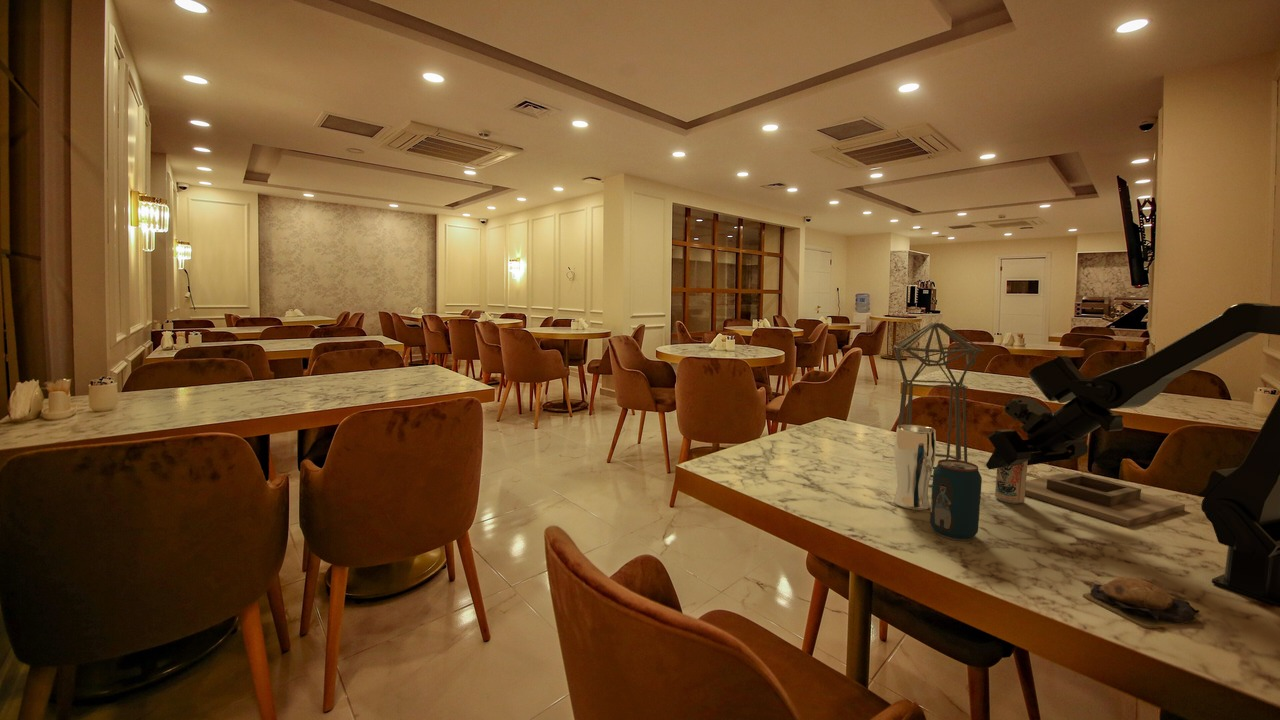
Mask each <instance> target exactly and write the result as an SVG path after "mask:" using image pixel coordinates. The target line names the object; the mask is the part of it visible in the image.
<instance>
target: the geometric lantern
mask: <svg viewBox="0 0 1280 720" xmlns="http://www.w3.org/2000/svg"><path fill="white" fill-rule="evenodd" d="M939 329H940V330H941V331H942V332H943V333H945V335H947V336H948V337H949V338H950V339H951V340H952V341H953V342H954V343H955V344H956V346H955V345H954V346H945V347H944V346H943V342H942V338H941V335H940V332H939ZM929 331H930V332H929ZM928 332H929V336H928V339H927V341H926V344H925V348H923V347H914V346H913V345H914V344H915V343H916V342H917V341H918V340H919V339H921V338H922V337H924V335H926V333H928ZM934 332H935V334H936V339H937V344H938V349H936V348H935V349H933V348H930V346H931V343H932V340H933V336H934ZM892 348H893V352H894V354H895V355H894V356H895V358H896V362H897V363H898V366H899V369H900V373H901V376H902V386H901V395H900V396H901V397H900V406H899V415H898V422H897V423H898V424H897V426H899V425H904V422H905V425H913V398H914V397H913V396H914V395H913V394H914V392H913V391H914V390H913V389H914V387H923V388H925V387H926V388H939V389H940V388H942V389H950V391H949V393H950V394H949V406H948V407H949V408H948V409H949V411H948V425H947V427H948V428H947V442H946V443H947V444H946V445H947V447H946V454H938V453H936V454H935V457H939V458H945V459H952V460H961V461H966V462H968V441H967V440H968V438H967V437H968V436H967V407H966V405H967V404H966V403H967V402H966V401H967V400H966V399H967V397H966V389H968V386H967V385H965V384H964V380H965V376H966V374H967V372H968V370H969V368H970V367H971V366H973V367H974V366H975V364H976V358H977V356H978V354H979V353H980V352H985V349H983V348H982V347H981V346H979V345H977V344H976V343H974V342H972V341H971V340H969V339H968V338H966V337H964V336H963V335H961V334H960V333H958V332H957V331H956V330H953V329H952V328H950V327H949V326H948V325H946V324H944V323H942V322H931V323H929V324H927V325H926V326H924V327H922V328H921V329H919V330H917V331H915V332H914V333H912V334H911V335H909V336H908V337H905V338H904V339H903V340H901V341H899V342H898V343H896V344H894V345H893V346H892ZM901 351H905V352H906V353H908V354H909V355H911V356H912V357H913V358H915V359H916V360H917V361H919V362H921V364H920V365H919V367H918V368H917V369H916V371H915V372H914V374H913V376H912V377H911V379H907V378H908V377H907V376H906V372H905V368H904V365H903V362H902V357H901V355H902V354H901ZM914 351H917V352H923V353H924V354H925V357H922V356H920V355H918V354H917V353H914ZM930 353H939V357H938V360H932V359H930ZM959 353H960V354H959ZM953 354H959V355H957V356H955V357H952V358H950V359H948V360H946V358H948V357H950V356H951V355H953ZM970 354H971V358H970ZM965 356H966V357H965ZM963 357H965V359H966V364H965V366H964V370H963V372H962V374H961V377H960V378H959V381H957V380H956V379H955V376H954V375H953V372H952V371H951V369H950V367H949V366H948V364H949V363H951V362H952V363H953V362H954V361H956V360H959V359H960V358H963ZM942 361H943V362H942ZM942 366H944V367H945V369H946V370H947V372H948V374H949V375H950V377H949V376H948V374H947V373H946V371H945V370H944V368H943V367H942ZM926 367H939V368H940V370H941V371H942V372H943V374H944V375H945V377H946V379H947V380H948V381H947V380H946V381H945V380H920V379H917V377H918V376H919V375H920V374H921V372H923V370H924V369H925V368H926ZM950 378H951V379H952V380H951V379H950ZM914 383H937V384H938V383H939V384H941V383H942V384H950V385H934V384H933V385H931V384H914ZM954 385H955V386H954ZM908 387H909V388H908ZM908 389H909V390H908ZM961 389H962V391H961V393H962V422H963V423H962V424H963V425H962V426H963V427H962V428H963V433H962V434H963V458H964V460H962V441H961V440H962V439H961V399H960V390H961ZM907 392H908V399H907ZM953 398H954V402H953ZM953 403H954V417H955V418H954V422H955V427H954V428H955V431H954V433H955V456H953V455H950V451H951V439H952V437H951V436H952V419H953V418H952V417H953V416H952V415H953ZM906 404H907V406H906ZM906 407H907V408H906ZM906 409H907V410H906ZM905 412H906V414H905ZM905 415H906V416H905ZM905 417H906V420H905ZM935 468H936V466H933V470H934V469H935ZM931 478H932V479H933V474H931V477H930V479H931ZM928 488H932V484H931V485H930V484H929V486H928Z"/></svg>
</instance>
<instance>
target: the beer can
mask: <svg viewBox="0 0 1280 720" xmlns="http://www.w3.org/2000/svg"><path fill="white" fill-rule="evenodd" d="M1027 464H1028V461H1026V462H1023V463H1022V464H1021V465H1015V466H1008V467H1002V468H996V475H995V477H996V478H995V492H994V497H995V498H997V499H998V500H999V501H1001V502H1004V503H1005V504H1006V503H1007V504H1013V505H1017V504H1018V505H1019V504H1021V503H1024V502H1025V498H1026V496H1025V488H1026V481H1027V474H1028V473H1027V472H1028V465H1027Z"/></svg>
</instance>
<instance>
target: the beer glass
mask: <svg viewBox="0 0 1280 720" xmlns="http://www.w3.org/2000/svg"><path fill="white" fill-rule="evenodd" d="M936 432H937V431H936V429H935V428H933V427H929V426H926V425H917V424H912V425H909V424H908V425H906V424H903V425H899V426H898V425H897V426H896V432H895V440H894V449H893V450H894V451H893V452H894V465H895V470H896V471H895V473H896V478H897V480H896V485H897V486H896V491H895V494H894V497H893V498H894V499H893V502H894V504H895V505H897V506H898V507H901V508H903V509H907V510H912V511H926V510H929V509H930V500H929V499H930V498H929V487H928V486H929V485H930V481H931V475H933V471H934V469H933V467H935V460H936V456H935V454H937V453H936V452H937V451H936V450H937V448H936V447H937V438H936V437H937V435H936Z"/></svg>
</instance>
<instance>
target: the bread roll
mask: <svg viewBox="0 0 1280 720" xmlns="http://www.w3.org/2000/svg"><path fill="white" fill-rule="evenodd" d="M1082 598H1083V599H1085V600H1087V601H1089V602H1091V603H1094V604H1095V605H1098V606H1099V607H1101V608H1104V609H1105V610H1107V611H1109V612H1111V613H1113V614H1116V615H1117V616H1120V617H1121V618H1123V619H1125V620H1126V621H1130V622H1131V623H1133V624H1135V625H1136V626H1140V627H1141V628H1144V629H1147V630H1148V629H1157V628H1166V627H1171V626H1172V627H1173V626H1178V625H1179V626H1180V625H1182V624H1185V623H1189V622H1193V621H1195V620H1198V618H1197V617H1196V615H1199V613H1200V612H1201V611H1200V610H1199V609H1195V608H1194V607H1193V606H1192V605H1190V602H1189V601H1186V600H1184V599H1180V598H1174V597H1173V596H1171V595H1170V594H1168V593H1167V592H1166V591H1165V590H1163V588H1160V587H1158V586H1157V585H1155V584H1153V583H1151V582H1148V581H1146V580H1144V579H1140V578H1138V577H1137V578H1136V577H1128V576H1123V577H1116V578H1114V579H1113V580H1110V581H1109V582H1107V583H1104V584H1100V583H1099V584H1098V583H1096V584H1094V585H1093V586H1092V588H1091V589H1090V592H1087V593H1083V595H1082Z"/></svg>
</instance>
